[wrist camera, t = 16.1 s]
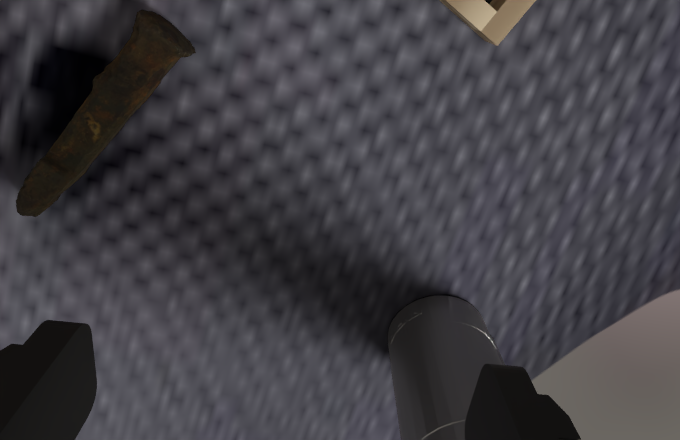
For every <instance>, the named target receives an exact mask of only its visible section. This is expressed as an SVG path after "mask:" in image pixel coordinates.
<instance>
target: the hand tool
mask: <svg viewBox="0 0 680 440" xmlns="http://www.w3.org/2000/svg"><path fill="white" fill-rule="evenodd" d="M193 53H195V49H194V47H193V46H192V44H191V42H190V41H189V40H188V39H186V38H185V37H184V36H183V35H182V33H181V32H180V31H179V30H178V29H177V28H176V27H175V26H173V25H172V24H171V23H170V22H168V21H167V20H166V19H164V18H163V17H161V16H160V15H157V14H156V13H154V12H151V11H145V10H141V11H139V12H137V15H136V20H135V24H134V27H133V32H132V35H131V38H130V40H129V41H128V42H127V43H126V45H125V46H124V48H123V49H122V50H121V51H120V53H119V55H118V56H117V57H116V58H115V59H114V60H113V61H112V62H111V63H110V64H109V65H108V66H106V67H105V69H104V72H102V73H101V74H99V75H97V76H95V78H94V79H93V89H92V92H91V93H90V95H89V96H88V97H87V99H86V100H85V101H84V103H83V104H82V105H81V107H80V108H79V109H78V111H77V112H76V113H75V115H74V117H73V118H72V120H71V121H70V122H69V124H68V125H67V127H66V128H65V130H64V131H63V133H62V134H61V135H60V137H59V138H58V139H57V141H56V142H55V143H54V145H53V146H52V147H51V149H50V150H49V151H48V153H47V154H46V156H45V157H43V158H42V159H40V160H39V161H38V162H37V164H36V165H35V167H34V168H33V169H32V172H31V173H30V174H29V175H28V176H27V178H26V179H25V181H24V184H23V186H22V187H21V189H20V191H19V193H18V196H17V200H16V203H17V205H16V206H17V212H18V213H19V214H20V215H22V216H34V217H36V216H38V215H40V214H41V213H42V212H43V211H45V210H46V209H47V208H48V207H50V206H51V205H52V204H53V203H54V202H55V201H56V200H58V198H59V197H60V195H61V194H62V193H63V192H64V191H65V190H67V189H68V188H69V187H70V186H71V185H72V184H74V183H75V182H76V181H77V180H78V179H79V178H80V177H81V176H82V175H84V174H85V173H86V171H87V169H88V167H89V166H90V164H91V163H92V162H93V161H94V160H95V159H96V158H97V156H98V155H99V154H100V153H101V152H102V151H103V150H104V149H105V148H106V146H107V145H108V144H109V143H110V142H111V140H112V139H113V138H114V137H115V136H116V135H117V134H118V132H119V131H120V130H121V129H122V128H123V126H124V125H125V123H126V122H127V121H128V120H129V118H130V117H131V116H132V115H133V114H134V112H135V111H136V110H137V109H139V108H140V107H141V105H142V104H143V103H144V102H145V101H146V100H147V99H148V98H149V97H150V96H151V94H152V93H153V92H154V90H155V89H156V88H157V86H158V85H159V84H160V82H161V80H162V78H163V77H164V76H165V75H166V74H167V73H168V71H169V70H170V69H171V68H172V67H173V66H174V65H175V64H176V62H177V61H178V60H179V59H180V58H181V57H188V56H190V55H192V54H193Z"/></svg>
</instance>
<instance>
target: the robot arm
mask: <svg viewBox="0 0 680 440" xmlns="http://www.w3.org/2000/svg"><path fill="white" fill-rule="evenodd" d="M387 337H388V348H389V355H390V363H391V371H392V379H393V386H394V393H395V400H396V407H397V415H398V422H399V429H400V436H401V440H581V438H580V436H579V434H578V433H577V431H576V429H575V427H574V425H573V423H572V421H571V419H570V417H569V416H568V415H567V414H566V413H565V412H564V411H563V410H562V409H561V408H560V407H559V406H558V405H557V404H556V403H555V401H554V400H553V399H552V398H551V397H550V396H548V395H539V394H537V392H536V390H535V388H534V386H533V384H532V382H531V380H530V378H529V375H528V373H527V372H526V370H525V369H524V368H523V367H518V366H508V365H505V364H504V361H503V359H502V357H501V355H500V352H499V350H498V348H497V345H496V343H495V341H494V338H493V337H491V336H490V334H489V332H488V329H487V327H486V325H485V322H484V320H483V318H482V316H481V314H480V313H479V312H478V311H477V309H476V308H475V307H474V306H472V305H471V304H469V303H468V302H466V301H464V300H462V299H459V298H456V297H451V296H438V295H436V296H430V297H425V298H422V299H419V300H416V301H414V302H412V303H410V304H409V305H407V306H406V307H404V308H403V309H402V310H401V311H400V312H399V313H398V314H397V315H396V316H395V318H394V319H393V320H392V323H391V325H390V327H389V331H388V336H387ZM96 389H97V378H96V369H95V360H94V351H93V341H92V333H91V329H90V326H89V325H88V324H84V323H74V322H63V321H53V320H47V321H44V322H43V323H42V324H41V325H40V326H39V327H38V328H37V329H36V330H35V331H34V333H33V334H32V335H31V336H30V337H29V338H28V340H27V341H26V342H25V343H24V344H23V345H18V344H11V345H9V346H7V347H6V348H4V349H2V350H1V351H0V440H75V438H76V437H77V435H78V433H79V431H80V430H81V428H82V426H83V424H84V423H85V421H86V419H87V417H88V416H89V414H90V411H91V409H92V406H93V403H94V400H95V396H96Z"/></svg>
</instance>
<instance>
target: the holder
mask: <svg viewBox="0 0 680 440" xmlns="http://www.w3.org/2000/svg"><path fill="white" fill-rule="evenodd" d="M439 1H441V2H442V3H443V4H444V5H445V6H446V7H447V8H448V9H450V10H451V11H452V12H453V13H454V14H455V15H456V16H458V17H459V18H460V19H461V20H462V21H463V22H464V23H465V24H467V25H468V26H469V27H470V28H471V29H472V30H473V31H475V32H476V33H477V34H478V35H479V36H480V37H481V38H482V39H484V40H485V41H486V42H489V43H491V44H494V45H496V46H498V44H499V43H500V42H501V41H502V40H503V39H504V37H505V36H506V35H507V34H508V33H509V31H510V30H511V29H512V28H513V27H514V26H515V24H516V23H517V22H518V21H519V20H520V18H521V17H522V16H523V15H524V14H525V13H526V11H527V10H528V9H529V8H530V7H531V5H532V4H533V3H534V2H535V1H536V0H492V1H491V2H490V4H488V3H487V2H486V1H485V0H439Z"/></svg>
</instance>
